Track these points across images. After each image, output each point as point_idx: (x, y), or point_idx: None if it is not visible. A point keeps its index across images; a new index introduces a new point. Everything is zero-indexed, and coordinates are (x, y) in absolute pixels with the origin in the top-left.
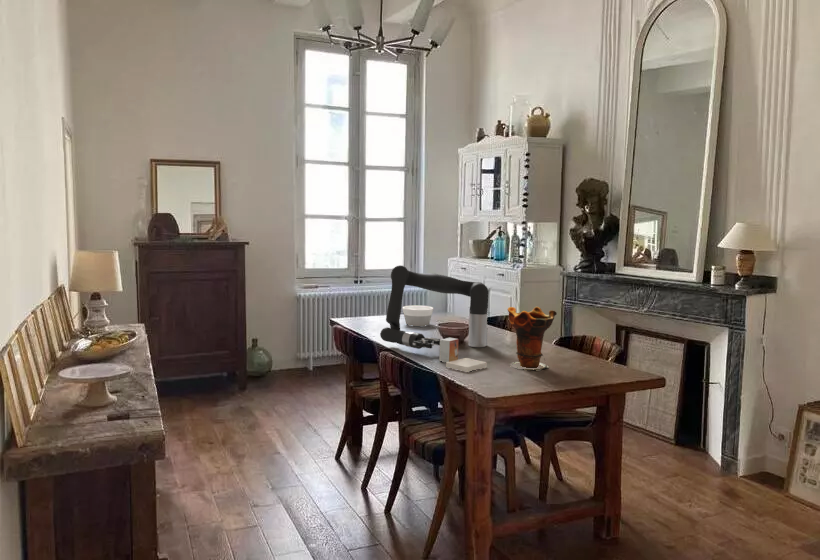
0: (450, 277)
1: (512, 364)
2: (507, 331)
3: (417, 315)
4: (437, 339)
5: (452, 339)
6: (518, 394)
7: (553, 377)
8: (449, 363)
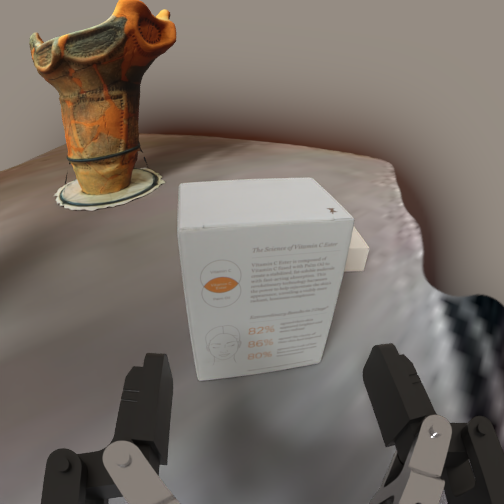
0: None
1: (117, 199)
2: None
3: None
4: (80, 487)
5: (247, 184)
6: (331, 150)
7: (180, 152)
8: (362, 239)
